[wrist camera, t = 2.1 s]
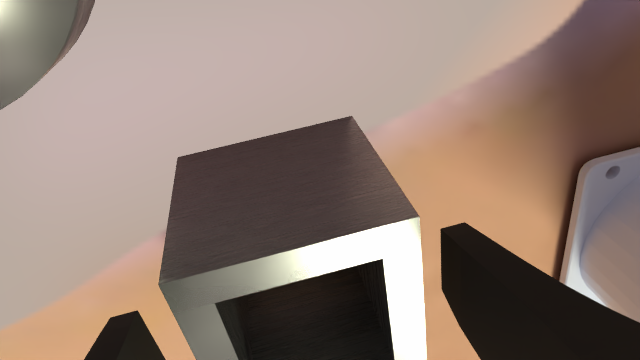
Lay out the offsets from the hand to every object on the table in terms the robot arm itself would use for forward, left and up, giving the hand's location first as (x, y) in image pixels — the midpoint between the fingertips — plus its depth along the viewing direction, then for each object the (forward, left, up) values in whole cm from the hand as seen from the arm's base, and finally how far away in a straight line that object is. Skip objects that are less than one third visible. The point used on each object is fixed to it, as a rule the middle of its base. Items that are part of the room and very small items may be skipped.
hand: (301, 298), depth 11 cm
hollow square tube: (0, 0, -4) cm, 4 cm away
